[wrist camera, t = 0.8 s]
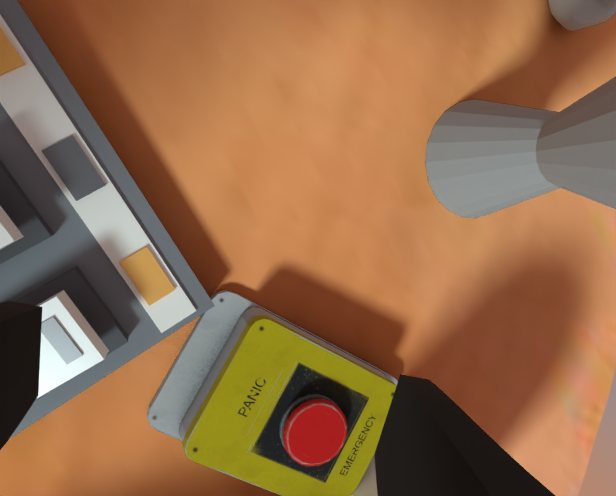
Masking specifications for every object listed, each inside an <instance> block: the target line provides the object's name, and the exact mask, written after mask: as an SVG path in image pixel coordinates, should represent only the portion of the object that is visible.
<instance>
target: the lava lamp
mask: <svg viewBox="0 0 616 496" xmlns="http://www.w3.org/2000/svg"><path fill="white" fill-rule="evenodd" d="M425 163H426V169H427V175H428V181H429V183H430V186H431V188H432V190H433V192H434V194H435V196H436V198H437V199H438V200H439V201H440V202H441V203H442V204H443V205H444V207H445V208H446V209H447V210H449V211H451V212H453V213H455V214H457V215H459V216H461V217H469V218H478V217H481V216H485V215H488V214H491V213H494V212H497V211H499V210H502V209H505V208H507V207H510V206H513V205H515V204H518V203H521V202H523V201H526V200H529V199H532V198H534V197H537V196H540V195H542V194H545V193H548V192H550V191H553V190H556V189H559V188H563V189H566V190H568V191H571V192H573V193H576V194H578V195H581V196H583V197H586V198H589V199H591V200H594V201H596V202H599V203H601V204H604V205H606V206H609V207H612V208H614V209H616V77H614V78H613V79H611V80H609V81H608V82H606V83H605V84H603V85H601V86H600V87H598V88H597V89H595V90H594V91H592V92H590V93H589V94H587V95H586V96H584V97H583V98H581V99H579V100H578V101H576V102H575V103H573V104H572V105H570V106H568V107H567V108H565V109H564V110H562V111H560V112H555V111H548V110H542V109H535V108H528V107H522V106H515V105H509V104H502V103H496V102H489V101H483V100H476V99H473V100H468V101H463V102H459V103H457V104H456V105H454V106H453V107H451V108H450V109H448V110H446V111H445V112H444V113H443V115H442V116H441V117H440V119H439V120H438V121H437V122H436V124H435V125H434V127H433V130H432V132H431V135H430V138H429V140H428V143H427V151H426V161H425Z"/></svg>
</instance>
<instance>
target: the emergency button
mask: <svg viewBox="0 0 616 496" xmlns="http://www.w3.org/2000/svg"><path fill="white" fill-rule="evenodd" d="M210 299H211V300H212V302H213V304H214V305H215V306H214V307H212V308H211V309H209V310H208V311H206V312H205V313H203V314H201V316H200V318H199V319H198V321H197V323H196V324H195V326H194V328H193V330H192V331H191V333H190V335H189V337H188V338H187V340H186V342H185V344H184V345H183V347H182V349H181V351H180V352H179V354H178V356H177V358H176V359H175V361H174V363H173V365H172V366H171V368H170V370H169V372H168V373H167V375H166V377H165V379H164V380H163V382H162V384H161V386H160V387H159V389H158V391H157V393H156V394H155V396H154V398H153V399H152V401H151V403H150V405H149V409H148V413H147V417H148V420H149V423H150V425H151V426H152V427H153V428H155V429H156V430H157V431H159V432H162V433H164V434H167V435H169V436H172V437H174V438H177V439H179V440H182V442H183V443H182V444H183V448H184V451H185V454H186V456H187V457H188V458H189V459H191V460H192V461H194V462H196V463H199V464H202V465H204V466H207V467H209V468H212V469H214V470H217V471H220V472H222V473H225V474H227V475H230V476H232V477H235V478H237V479H240V480H243V481H245V482H248V483H250V484H253V485H255V486H258V487H261V488H263V489H266V490H268V491H271V492H273V493H276V494H279V495H281V496H350V495H352V494H353V493H354V492H355V491H356V489H357V487H358V485H359V483H360V481H361V479H362V477H363V475H364V473H365V471H366V469H367V467H368V465H369V463H370V461H371V459H372V457H373V455H374V454H375V451H376V448H377V444H378V441H379V438H380V435H381V432H382V429H383V426H384V423H385V420H386V417H387V414H388V411H389V408H390V404H391V401H392V398H393V395H394V392H395V389H396V386H397V383H398V381H397V380H396V379H395V378H394V377H393V376H391V375H390V374H388V373H386V372H384V371H383V370H381V369H379V368H377V367H375V366H373V365H371V364H369V363H367V362H365V361H364V360H362V359H360V358H358V357H356V356H354V355H352V354H350V353H348V352H347V351H345V350H343V349H341V348H339V347H337V346H335V345H333V344H331V343H330V342H328V341H326V340H324V339H322V338H320V337H318V336H316V335H314V334H313V333H311V332H309V331H307V330H305V329H303V328H301V327H299V326H297V325H295V324H294V323H292V322H290V321H288V320H286V319H284V318H282V317H280V316H278V315H277V314H275V313H273V312H271V311H269V310H267V309H265V308H263V307H261V306H260V305H258V304H256V303H254V302H252V301H250V300H248V299H246V298H244V297H243V296H241V295H239V294H237V293H235V292H232V291H228V290H223V291H219V292H216V293H215V294H214V295H213V296H212V297H211V298H210Z"/></svg>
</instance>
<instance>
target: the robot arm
mask: <svg viewBox="0 0 616 496" xmlns="http://www.w3.org/2000/svg"><path fill="white" fill-rule="evenodd" d="M41 326H42V307H40V306H35V305H30V304H24V303H19V302H14V301H7V302H1V303H0V449H1V448H2V447H3V446H4V445H5V444H6V442H7V441H8V440H9V438H10V437H11V435H12V434H13V433H14V431H15V430H16V428H17V427H18V425H19V424H20V423H21V421H22V420H23V418H24V417H25V415H26V414H27V412H28V411H29V409H30V407H31V406H32V404H33V403H34V401H35V400H36V398H37V397H38V390H39V369H40V348H41ZM374 456H375V470H376V483H377V493H378V496H555V495H554V494H553V493H552V492H550V491H549V490H548V489H547V488H546V487H545V486H543V485H542V484H541V483H540V482H539V481H538V480H537V479H535V478H534V477H533V476H532V475H531V474H530V473H528V472H527V471H526V470H525V469H524V468H523V467H522V466H521V465H520V464H519V463H517V462H516V461H515V460H514V459H513V458H512V457H511V456H510V455H509V454H508V453H507V452H505V451H504V450H503V449H502V448H501V447H500V446H499V445H498V444H497V443H496V442H495V441H494V440H493V439H492V438H491V437H490V436H489V435H487V434H486V433H485V432H484V431H483V430H482V429H481V428H480V427H479V426H478V425H477V424H476V423H475V422H474V421H473V420H472V419H471V418H470V417H469V416H468V415H467V414H466V413H465V412H464V411H463V410H462V409H461V408H460V407H459V406H457V405H456V404H455V403H454V402H453V401H452V400H451V399H450V398H449V397H448V396H447V395H446V394H445V393H444V392H443V391H442V390H440V389H439V388H438V387H437V386H436V385H435V384H433V383H432V382H431V381H430V380H427V379H422V378H417V377H411V376H406V375H401V374H400V377H399V380H398V383H397V386H396V389H395V392H394V395H393V398H392V401H391V404H390V408H389V411H388V414H387V417H386V420H385V423H384V426H383V429H382V432H381V435H380V438H379V441H378V444H377V448H376V451H375V454H374Z"/></svg>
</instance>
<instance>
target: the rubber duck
mask: <svg viewBox="0 0 616 496" xmlns="http://www.w3.org/2000/svg"><path fill="white" fill-rule="evenodd" d="M548 4H549V8H550V11H551V13H552V15H553V16H554V18H555V19H556V20H557V21H558V22H559V23H560V24H561V25H562V26H563V27H564V28H566V29H567V30H570V31H573V30H579V29H582V28H585V27H588V26H595V25H598V24H600V23H602V22H604V21H606V20H608V19H609V18H611V17H612V16H613V15H614V14H615V13H616V0H548Z"/></svg>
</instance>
